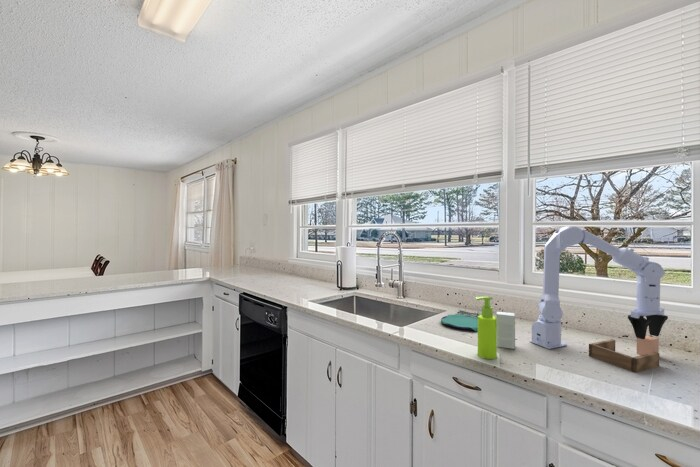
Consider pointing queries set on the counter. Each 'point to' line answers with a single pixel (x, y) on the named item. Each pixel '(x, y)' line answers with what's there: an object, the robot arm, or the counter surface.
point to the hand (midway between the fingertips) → (647, 336)
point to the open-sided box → (622, 357)
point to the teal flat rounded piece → (462, 320)
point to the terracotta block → (647, 345)
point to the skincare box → (505, 330)
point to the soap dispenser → (487, 330)
